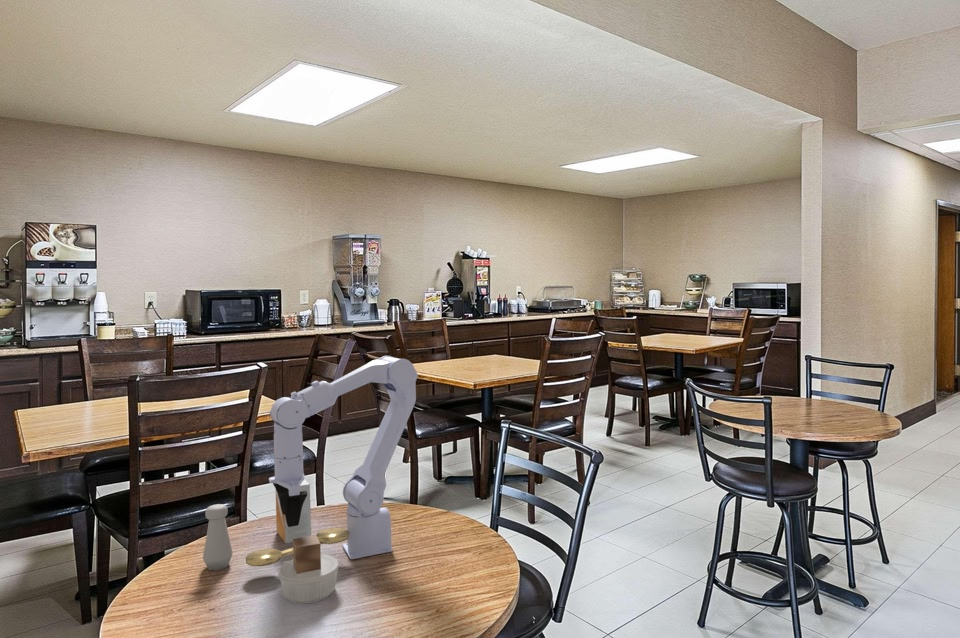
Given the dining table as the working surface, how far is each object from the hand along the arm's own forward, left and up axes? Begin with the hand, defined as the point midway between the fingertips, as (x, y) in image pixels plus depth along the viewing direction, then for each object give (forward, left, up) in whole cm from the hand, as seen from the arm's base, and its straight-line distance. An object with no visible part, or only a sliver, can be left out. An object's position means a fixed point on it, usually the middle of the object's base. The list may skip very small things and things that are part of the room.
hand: (290, 519), depth 128 cm
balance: (-2, +1, -10) cm, 11 cm away
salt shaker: (+14, -8, -11) cm, 19 cm away
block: (-1, +12, -5) cm, 13 cm away
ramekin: (-2, +12, -11) cm, 16 cm away
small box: (-3, -18, -11) cm, 21 cm away
